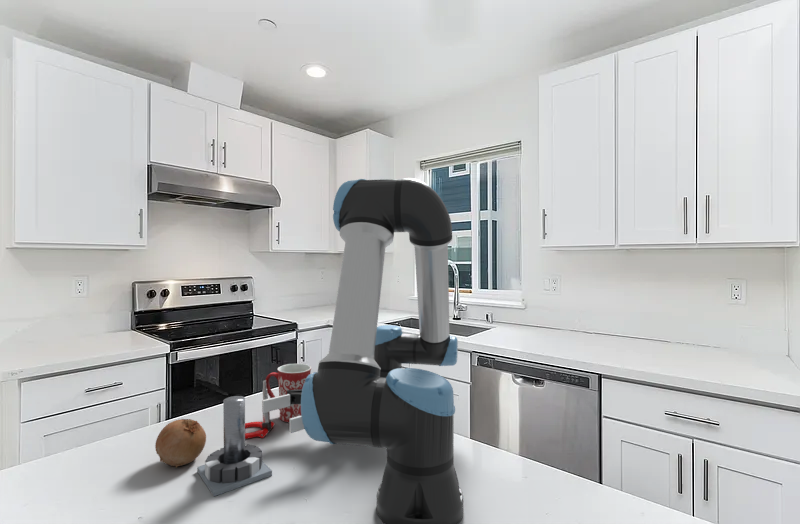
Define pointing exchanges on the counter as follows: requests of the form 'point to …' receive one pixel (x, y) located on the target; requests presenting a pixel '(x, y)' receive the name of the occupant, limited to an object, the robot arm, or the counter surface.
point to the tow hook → (264, 425)
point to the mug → (289, 386)
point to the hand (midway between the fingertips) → (275, 415)
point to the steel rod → (234, 429)
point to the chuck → (233, 470)
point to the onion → (180, 442)
